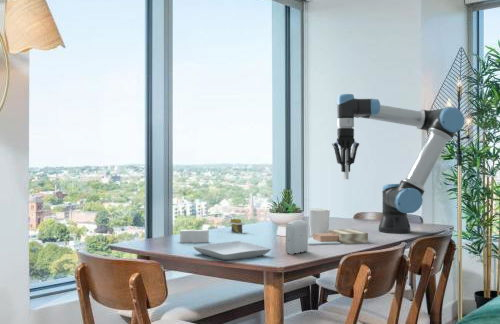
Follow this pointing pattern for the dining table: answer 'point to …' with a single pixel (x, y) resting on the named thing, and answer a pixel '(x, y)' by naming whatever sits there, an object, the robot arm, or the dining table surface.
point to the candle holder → (319, 220)
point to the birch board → (350, 236)
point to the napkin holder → (194, 236)
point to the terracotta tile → (325, 237)
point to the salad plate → (232, 250)
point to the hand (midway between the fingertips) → (345, 179)
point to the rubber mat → (315, 242)
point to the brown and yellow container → (236, 225)
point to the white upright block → (296, 236)
